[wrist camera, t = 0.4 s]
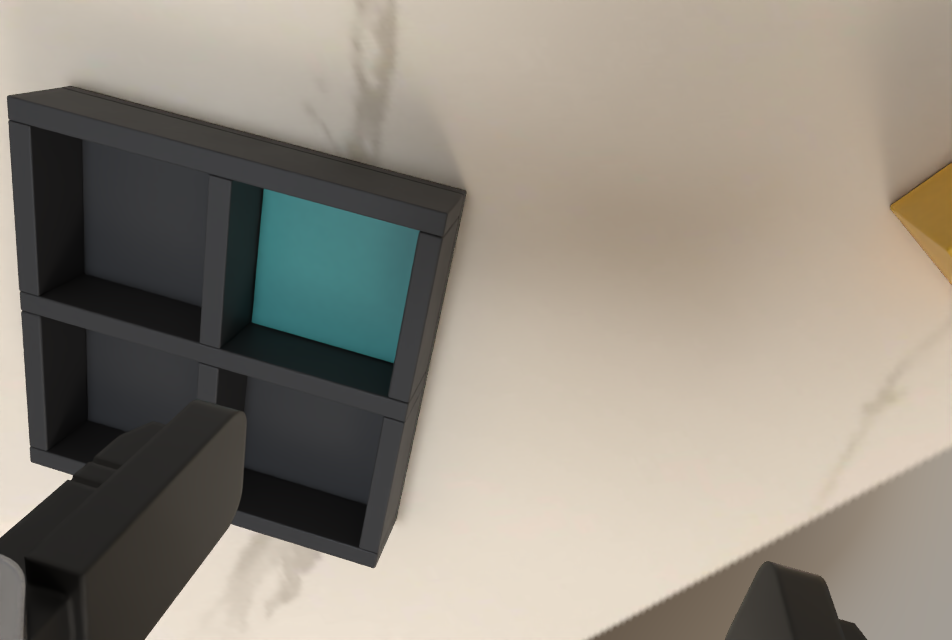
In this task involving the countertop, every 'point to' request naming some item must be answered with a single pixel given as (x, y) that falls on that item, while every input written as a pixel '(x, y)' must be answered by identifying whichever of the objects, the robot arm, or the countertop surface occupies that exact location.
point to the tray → (228, 303)
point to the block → (930, 218)
